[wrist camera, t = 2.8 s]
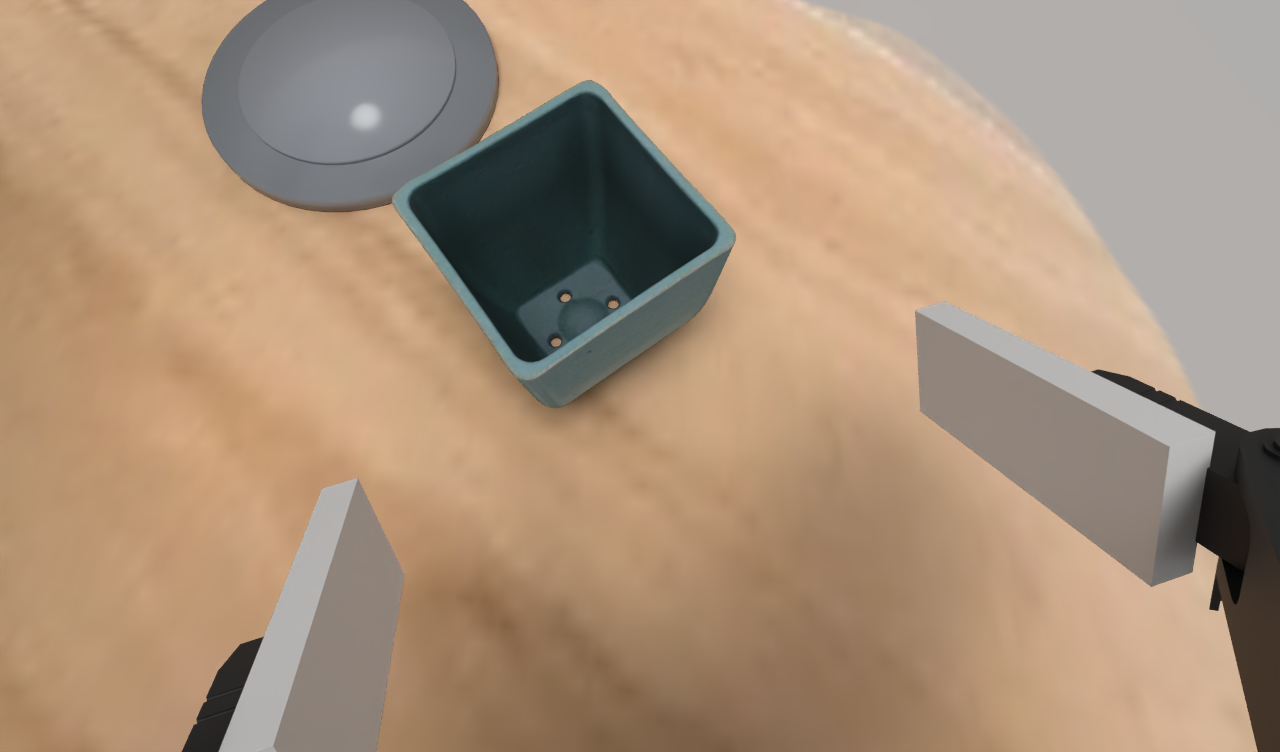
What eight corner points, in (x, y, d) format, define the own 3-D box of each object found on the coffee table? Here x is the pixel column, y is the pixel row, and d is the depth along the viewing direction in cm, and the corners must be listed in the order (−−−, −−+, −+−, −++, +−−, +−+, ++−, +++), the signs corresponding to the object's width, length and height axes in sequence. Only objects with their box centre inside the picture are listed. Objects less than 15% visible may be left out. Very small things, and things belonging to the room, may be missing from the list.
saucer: (157, 166, 35) (140, 149, 34) (298, -40, 40) (287, -61, 38) (427, 246, 33) (419, 232, 32) (540, 21, 38) (536, 1, 37)
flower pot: (451, 306, 32) (382, 191, 24) (606, 210, 34) (592, 71, 25) (556, 454, 30) (521, 386, 21) (717, 342, 31) (743, 238, 23)
